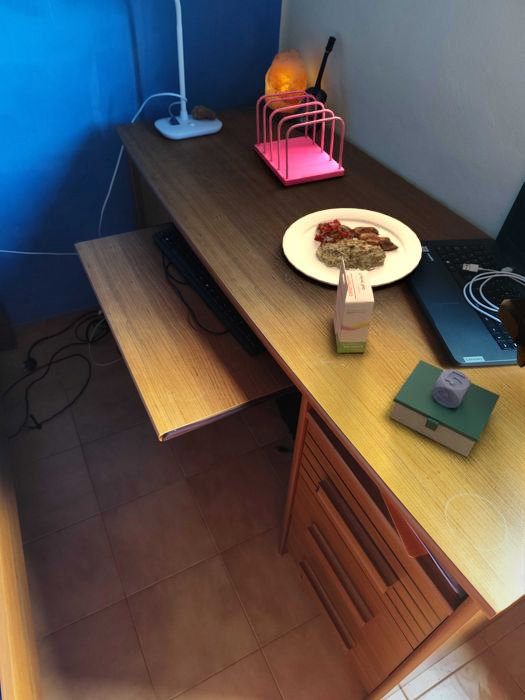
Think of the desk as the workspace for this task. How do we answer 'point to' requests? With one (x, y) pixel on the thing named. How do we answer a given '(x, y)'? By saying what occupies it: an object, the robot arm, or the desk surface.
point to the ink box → (352, 310)
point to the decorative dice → (451, 388)
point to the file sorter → (299, 146)
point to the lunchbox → (442, 410)
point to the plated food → (352, 245)
